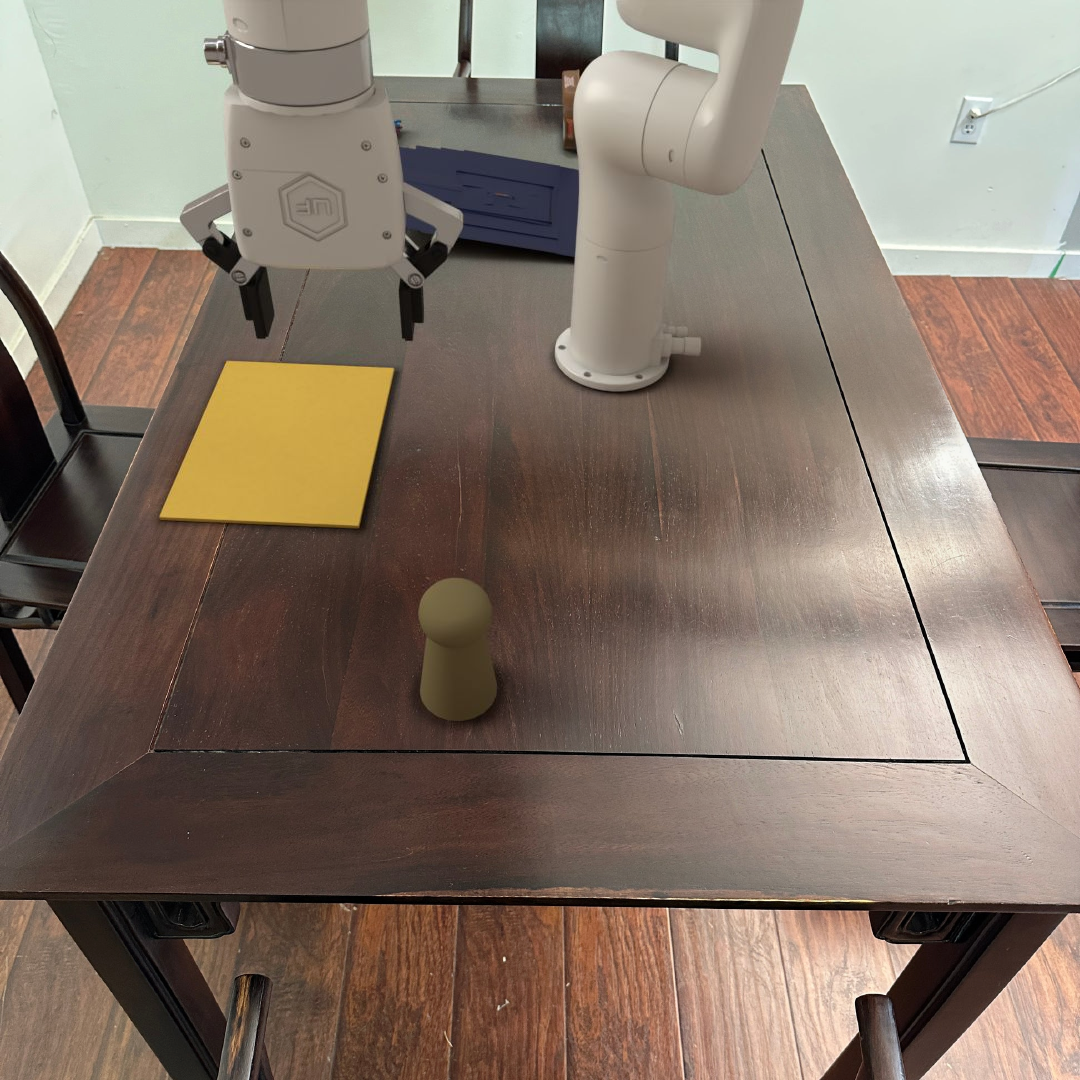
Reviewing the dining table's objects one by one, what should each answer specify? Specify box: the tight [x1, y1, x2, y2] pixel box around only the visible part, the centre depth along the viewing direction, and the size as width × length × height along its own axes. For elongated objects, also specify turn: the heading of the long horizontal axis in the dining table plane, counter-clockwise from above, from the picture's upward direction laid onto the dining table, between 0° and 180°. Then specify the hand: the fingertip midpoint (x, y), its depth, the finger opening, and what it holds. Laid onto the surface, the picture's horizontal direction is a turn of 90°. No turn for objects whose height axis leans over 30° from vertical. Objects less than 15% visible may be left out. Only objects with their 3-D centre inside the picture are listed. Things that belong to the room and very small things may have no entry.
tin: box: [561, 69, 580, 150], centre depth 143 cm, size 15×3×8 cm, turn 179°
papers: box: [399, 144, 579, 258], centre depth 128 cm, size 24×30×4 cm
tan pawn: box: [417, 577, 498, 722], centre depth 71 cm, size 6×6×11 cm
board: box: [158, 360, 395, 529], centre depth 95 cm, size 18×24×1 cm
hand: (337, 328), depth 66 cm, fingers open, 9 cm apart
